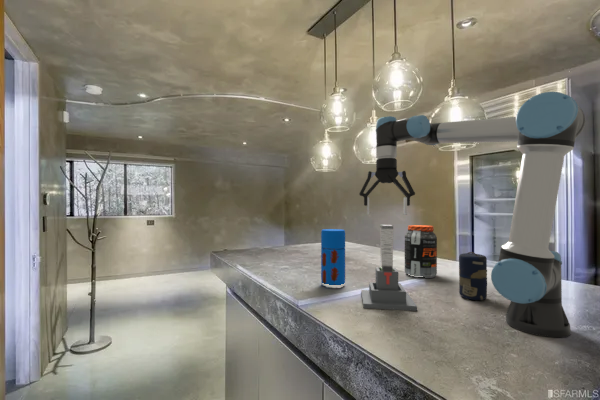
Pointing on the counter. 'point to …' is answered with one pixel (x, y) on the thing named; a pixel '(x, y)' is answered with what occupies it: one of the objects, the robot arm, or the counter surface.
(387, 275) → the base
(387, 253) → the column
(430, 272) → the supplement tub
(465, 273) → the canister
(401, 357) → the counter surface
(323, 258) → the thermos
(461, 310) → the counter surface
